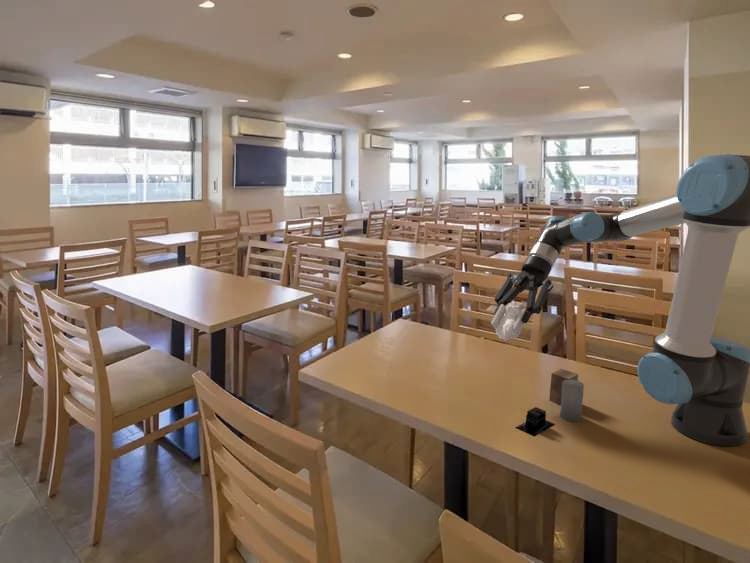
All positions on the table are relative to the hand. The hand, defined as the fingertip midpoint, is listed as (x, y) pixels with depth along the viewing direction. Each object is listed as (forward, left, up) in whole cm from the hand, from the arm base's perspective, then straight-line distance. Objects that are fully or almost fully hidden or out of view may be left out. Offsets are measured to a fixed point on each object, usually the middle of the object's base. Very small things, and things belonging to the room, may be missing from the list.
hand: (504, 328), depth 132 cm
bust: (+1, -4, -4) cm, 5 cm away
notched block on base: (-16, +8, -20) cm, 27 cm away
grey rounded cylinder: (-19, -3, -20) cm, 28 cm away
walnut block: (-13, -10, -20) cm, 26 cm away
